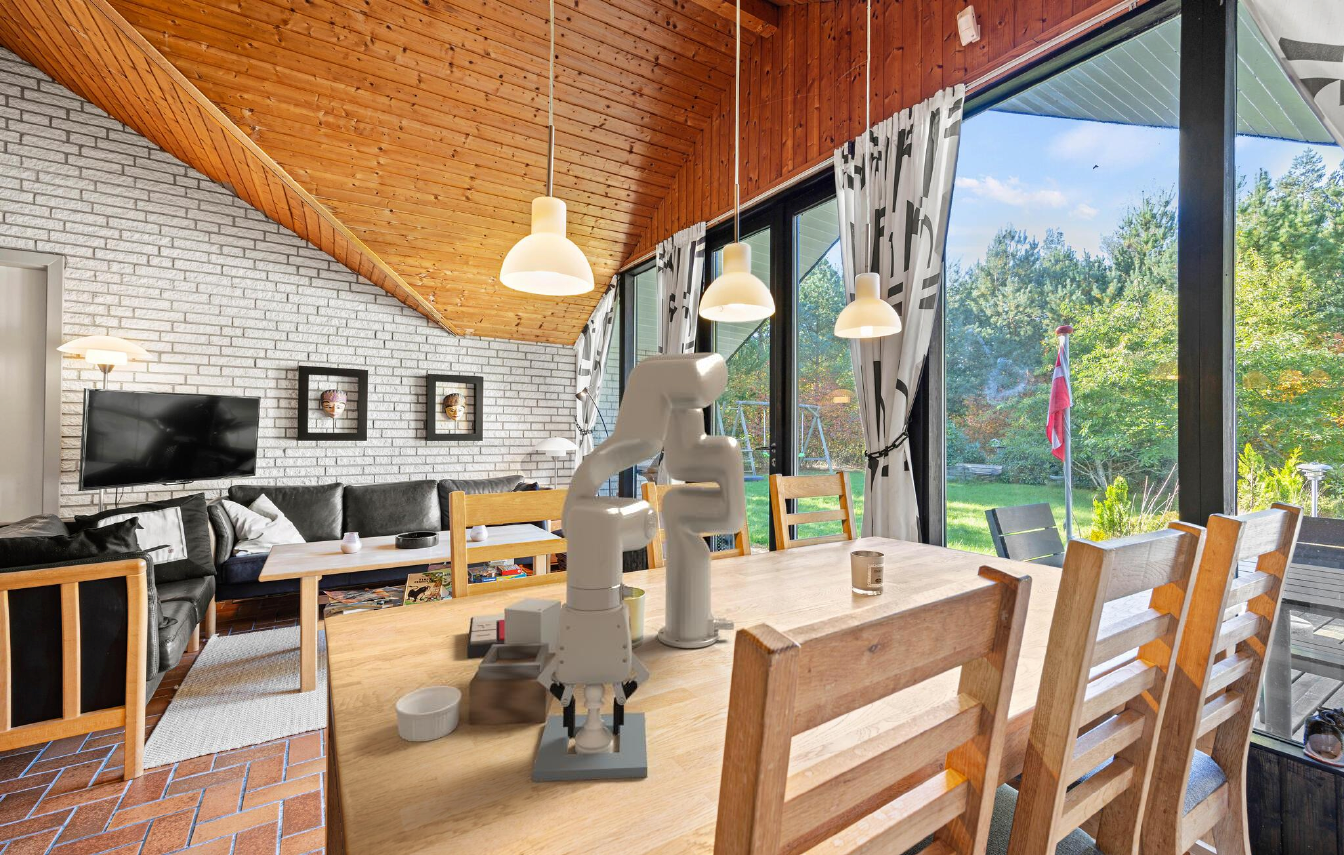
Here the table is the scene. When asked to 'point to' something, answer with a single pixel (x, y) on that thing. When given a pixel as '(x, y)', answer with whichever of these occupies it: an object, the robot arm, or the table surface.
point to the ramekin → (428, 713)
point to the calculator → (485, 634)
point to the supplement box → (533, 622)
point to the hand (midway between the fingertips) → (593, 729)
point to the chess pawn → (593, 724)
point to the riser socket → (510, 685)
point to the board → (596, 765)
